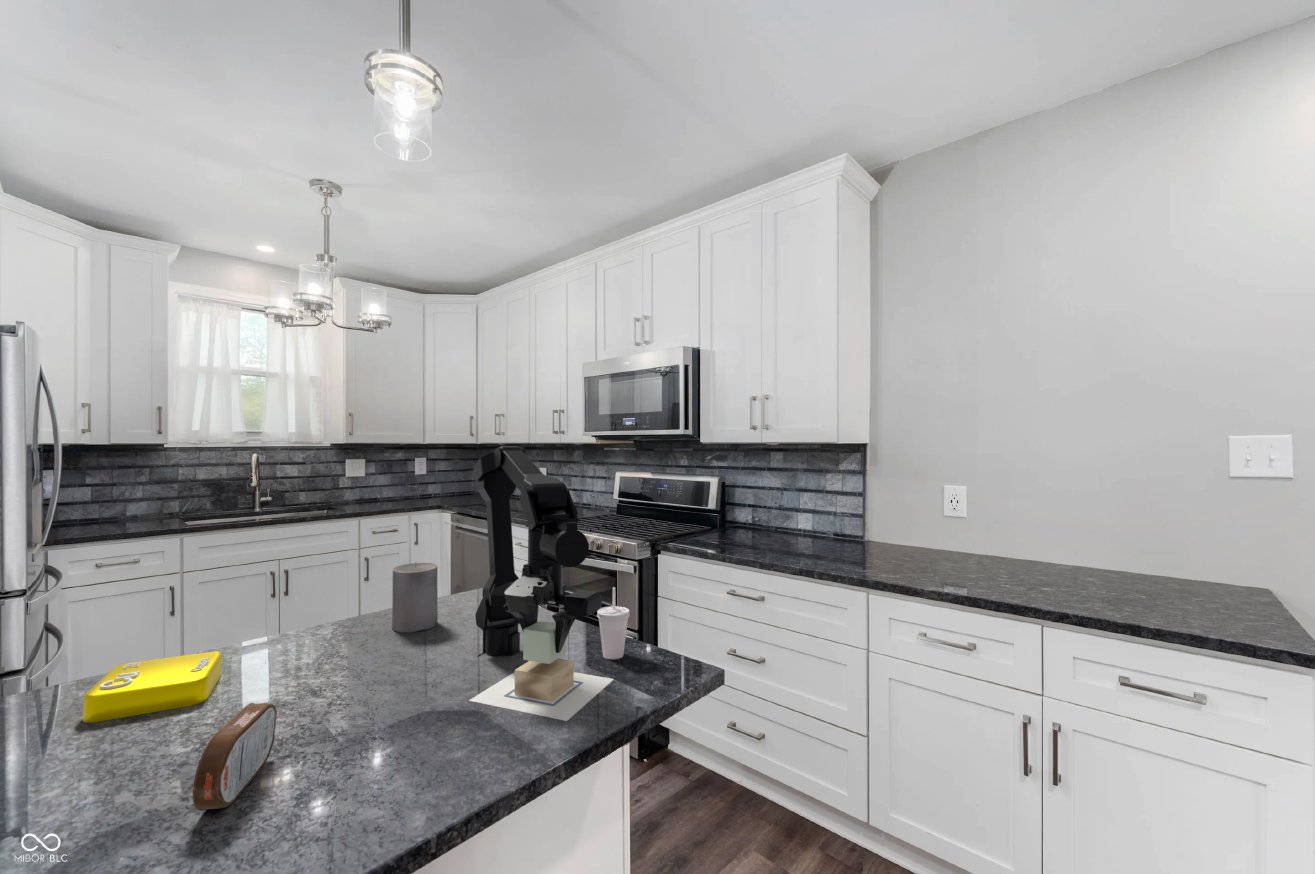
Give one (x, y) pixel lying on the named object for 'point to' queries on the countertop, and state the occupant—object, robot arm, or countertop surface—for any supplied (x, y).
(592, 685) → the white mat
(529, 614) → the robot arm
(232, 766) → the tin
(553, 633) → the sage block
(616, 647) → the smoothie
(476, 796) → the countertop surface
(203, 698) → the element tile
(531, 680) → the maple block
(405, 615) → the pillar candle
